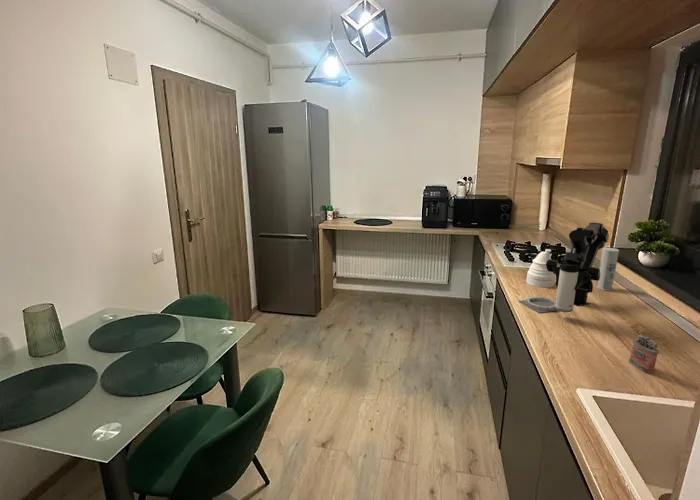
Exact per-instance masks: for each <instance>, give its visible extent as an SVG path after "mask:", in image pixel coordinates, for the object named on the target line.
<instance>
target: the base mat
mask: <svg viewBox="0 0 700 500" xmlns="http://www.w3.org/2000/svg"><path fill="white" fill-rule="evenodd" d="M518 302H519V304H520V303H521V304H522V305H523V306H526V307H527V308H528V309H531V310H532V311H534V312H536V313H538V314H544V313H551V312H559V311H558V310H557V309H555V310H550V311H546V310H538V309H535V308H532V307H530V306H528V305H527V304H526V299H522V300H518ZM531 303H533V304H536V305H539V306H553V305H552V304H550V303H548V302H544V301H531Z"/></svg>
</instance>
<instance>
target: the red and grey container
mask: <svg viewBox="0 0 700 500" xmlns="http://www.w3.org/2000/svg"><path fill="white" fill-rule="evenodd" d="M657 347H658V343H657V342H655V341H653V340H652V339H651V338H650V337H648V336H644V335H643V334H642V335H641V334H638V336H637V339H633V340H632V348H631V354H630V358H629V359H628V362H629V363H630V364H631V365H632V366H634V367H635V368H636V369H637V370H639V371H641V372H643V373H645V374H647V375H654V374H655V367H656V363H657V357H658V355H659V352H660V351H659V350H658V349H657Z"/></svg>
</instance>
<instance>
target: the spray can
mask: <svg viewBox="0 0 700 500" xmlns="http://www.w3.org/2000/svg"><path fill="white" fill-rule="evenodd" d="M619 253H620V250H619V249H618V248H613V247H603V248H602V251H601V256H600V257H601V258H600V262H599V263H600V264H599V269H600V279H599V281H596V289H597V288H599V289H601V290H600V291H603V290H611V291H612V289H613V286H614V285H613V284H614V279H615V275H616V269H617V264H618V260H619V259H618V258H619ZM599 289H598V290H599Z"/></svg>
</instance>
